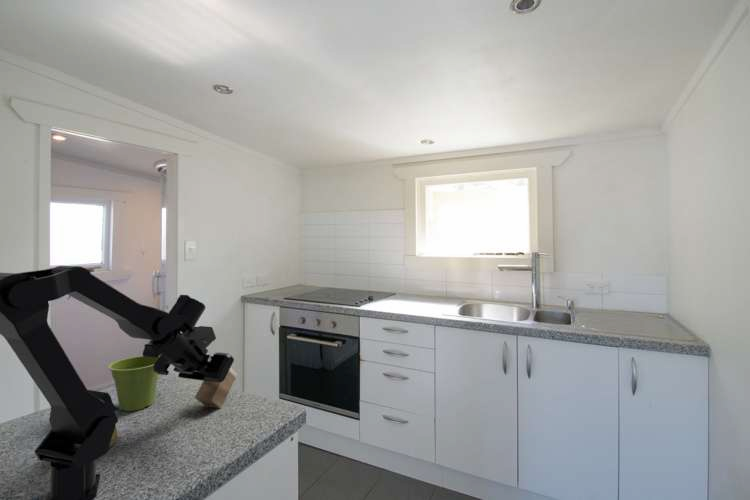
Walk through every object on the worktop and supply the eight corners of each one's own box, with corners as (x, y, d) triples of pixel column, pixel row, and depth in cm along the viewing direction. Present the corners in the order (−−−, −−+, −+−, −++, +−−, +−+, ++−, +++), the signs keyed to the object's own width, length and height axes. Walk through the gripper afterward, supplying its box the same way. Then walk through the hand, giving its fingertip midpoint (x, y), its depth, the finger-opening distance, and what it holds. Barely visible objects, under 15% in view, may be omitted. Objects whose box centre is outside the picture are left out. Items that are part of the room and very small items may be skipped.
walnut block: (221, 408, 89) (237, 374, 95) (211, 400, 85) (229, 365, 92) (204, 405, 90) (221, 372, 96) (194, 397, 87) (212, 363, 93)
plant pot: (156, 392, 98) (157, 352, 98) (169, 405, 90) (170, 362, 90) (103, 405, 89) (104, 361, 89) (112, 421, 81) (113, 373, 81)
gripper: (229, 320, 81) (256, 353, 92) (163, 315, 86) (197, 347, 96) (204, 365, 73) (237, 395, 84) (134, 357, 78) (173, 386, 89)
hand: (211, 379), depth 89 cm, fingers closed
